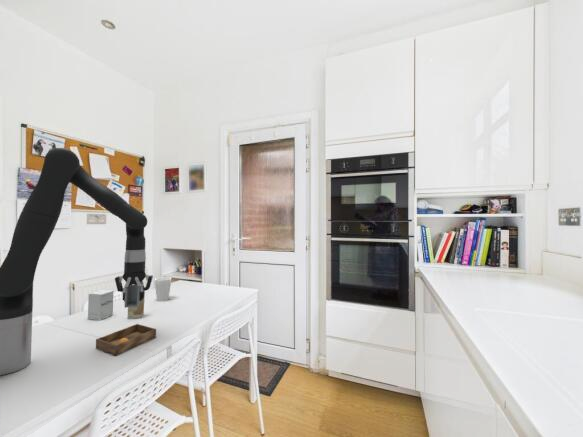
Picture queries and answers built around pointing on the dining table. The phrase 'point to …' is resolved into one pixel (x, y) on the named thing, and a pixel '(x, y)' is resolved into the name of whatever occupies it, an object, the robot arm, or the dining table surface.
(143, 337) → the tray
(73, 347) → the dining table surface
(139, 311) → the skincare box
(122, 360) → the dining table surface
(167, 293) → the foam cup
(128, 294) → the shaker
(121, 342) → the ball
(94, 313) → the supplement box
